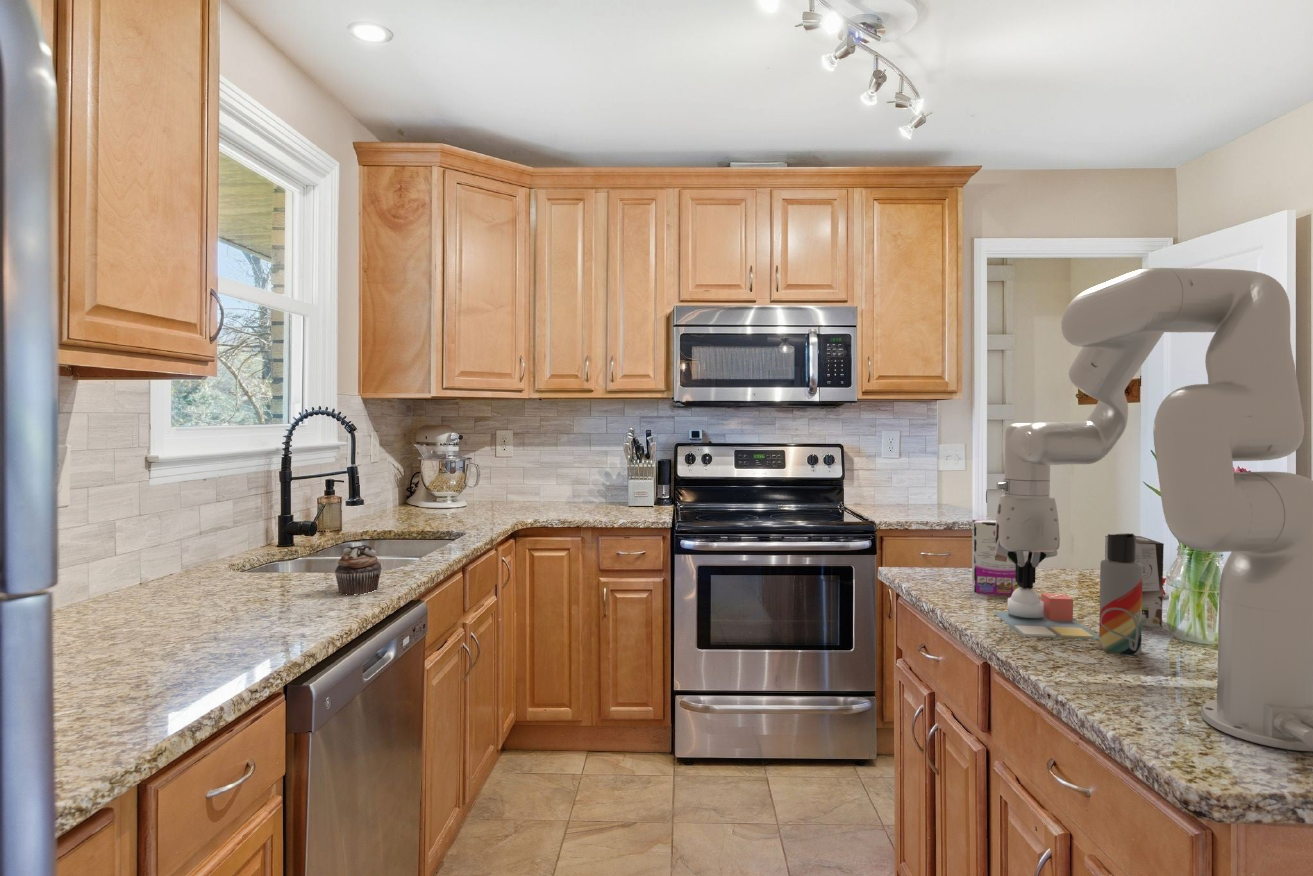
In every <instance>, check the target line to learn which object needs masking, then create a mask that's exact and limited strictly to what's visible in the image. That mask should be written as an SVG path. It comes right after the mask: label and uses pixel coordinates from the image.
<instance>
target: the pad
mask: <svg viewBox="0 0 1313 876" xmlns="http://www.w3.org/2000/svg"><path fill="white" fill-rule="evenodd" d="M1050 629H1052V630H1053V631H1055V632H1056V633H1057V634H1059V635H1060V636H1062V637H1078V638H1094V636H1093V635H1091V634H1089V633H1088V632H1086V631H1085V630H1083V629H1082V628H1072V627H1050Z"/></svg>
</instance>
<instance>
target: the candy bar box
mask: <svg viewBox="0 0 1313 876" xmlns="http://www.w3.org/2000/svg"><path fill="white" fill-rule="evenodd" d="M995 527H996V519H972V520H971V590H972V592H973V593H976V594H977V593H978V594H988V595H989V594H991V595H1007V596H1009V595H1010V596H1012V593H1013V592H1014V590H1016V589H1017V588H1019V587H1020V586H1019V585H1018V583H1017V582H1016V580H1015V569H1016V564H1014V563H1013V561H1012V560H1011V559H1010V558H1009V557H1006V556H1002V555H998V554H996V553H995V547H996V542H995ZM1023 553H1024V560H1025V564H1026V559H1027V553H1028V551H1023Z"/></svg>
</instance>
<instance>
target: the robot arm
mask: <svg viewBox="0 0 1313 876" xmlns="http://www.w3.org/2000/svg"><path fill="white" fill-rule="evenodd" d="M1061 318H1062V319H1061V323H1060V324H1061V333H1062V335H1063V338H1064V339H1065V340H1066V341H1067V342H1068V343H1069V344H1070V345H1073V346H1076V347H1078V348H1079V347H1081V349H1080V351H1079V352H1078V353H1077V355H1076V357H1075V358H1074V359H1073V362H1072V363H1071V365H1070V367H1069V369H1068V378H1069V380H1070V381H1071V383H1072V384H1073V386H1075V387H1076V388H1077V390H1079V391H1080V392H1082V393H1084V394H1085V395H1087V396H1089V397H1091V398H1092V399H1095V400H1097V403H1096V405H1095V407H1094V409H1093V410H1092V412H1091V414H1090V415H1089V416H1088V418H1087V419H1086V420H1084V421H1041V422H1039V421H1038V422H1013V423H1011V424H1008V425H1006V428H1005V432H1004V433H1005V434H1004V435H1005V437H1004V444H1005V445H1004V478H1003V481H1001V482H996V490H997V491H998V490H999V491H1000V490H1001V491H1003V494H1002V495H1000V497H999V502H998V505H997V506H998V507H997V511H996V518H995V520H996V527H995V542H996V547H995V553H996V554H998V555H1002V556H1006V557H1009V558H1010V559H1011V560H1012V561H1013V563H1014V564H1016V569H1015V580H1016V582H1017V583H1018V585H1019V586H1020V587H1022V588H1029V589H1033V590H1034V584H1035V583H1036V570H1037V569H1036V568H1037V567H1039V564H1040V563H1041V562H1042V561H1043V560H1044V559H1047V558H1052V557H1057V556H1058V550H1059V548H1060V542H1061V540H1060V539H1061V537H1060V536H1061V534H1060V522H1059V514H1058V507H1057V503H1056V498H1055V497H1052V496H1051V495H1050V494H1051V493H1050V492H1051V488H1050V487H1051V485H1050V484H1051V482H1050V481H1051V466H1052V465H1053V466H1061V465H1064V466H1065V465H1092V464H1095V463H1097V462H1099V461H1101V460H1103V458H1105V457H1106V456H1107V455H1108V454H1109V453H1110V452H1111V451H1112V450H1113V448H1114V446H1115V445H1116V444H1117V442H1118V441H1119V440H1120V439H1121V437H1122V435H1123V434H1124V432H1125V430H1126V428H1127V424H1128V419H1129V418H1128V417H1129V404H1128V400H1127V399H1128V398H1127V396H1126V394H1125V390H1126V389H1127V387H1128V386H1129V385H1130V383H1131V381H1132V380H1133V378H1134V377H1135V375H1137V372H1139V370H1140V369H1141V367H1142V365H1143V364H1144V363H1145V362H1146V360H1147V358H1148V357H1149V355H1150V354H1151V353H1152V351H1153V350H1154V348H1155V347H1156V345H1157V344H1158V342H1159V341H1160V340H1161V338H1162V337H1163V335H1164V334H1165V333H1214V335H1212V337H1211V340H1210V342H1209V343H1208V347H1207V350H1206V354H1205V358H1204V359H1205V360H1204V362H1205V364H1204V365H1205V369H1206V370H1205V371H1206V374H1207V375H1206V376H1207V383H1200V384H1199V383H1198V384H1197V383H1195V384H1190V385H1185V386H1181V387H1179V388H1177V389H1175V390H1173V391H1172V392H1170V393H1169V394H1168V395H1166V397H1165V398H1164V399H1163V400H1162V402H1161V403H1160V405H1158V408H1157V410H1156V415H1155V417H1154V421H1153V428H1152V429H1153V434H1152V435H1153V445H1154V452H1155V459H1156V461H1155V462H1156V468H1157V475H1158V477H1157V478H1158V483H1159V491H1160V499H1161V505H1162V506H1161V507H1162V511H1163V515H1164V519H1165V523H1166V525H1167V527H1168V529H1169V531H1170V532H1171V535H1173V537H1174V538H1175V539H1176V540H1177V541H1178V542H1180V544H1181V545H1183V546H1185V547H1187V548H1189V549H1192V550H1195V551H1198V552H1199V551H1200V552H1205V553H1206V552H1207V553H1208V552H1210V553H1212V552H1213V553H1214V552H1215V553H1222V552H1223V553H1225V552H1226V553H1227V552H1228V553H1229V552H1230V553H1229V555H1228V557H1227V560H1226V561H1225V563H1224V566H1223V568H1222V571H1221V575H1220V578H1219V579H1220V580H1219V590H1218V592H1219V595H1218V596H1219V598H1218V624H1217V625H1218V632H1217V639H1218V640H1217V681H1216V683H1217V686H1216V687H1217V688H1216V690H1217V691H1216V700H1211V701H1208V702H1206V703H1203V704H1202V706H1201V711H1200V714H1201V718H1202V719H1203V720H1204V722H1206V723H1207V724H1208V725H1210V726H1211V727H1213V728H1214V729H1216V730H1218V731H1220V732H1223V733H1225V734H1227V735H1230V736H1233V737H1235V738H1236V739H1237V738H1238V739H1241V740H1245V741H1248V742H1250V743H1255V744H1259V745H1262V746H1267V747H1272V748H1277V749H1282V750H1290V751H1297V752H1298V751H1300V752H1313V479H1310V478H1308V477H1307V476H1303V475H1301V474H1296V473H1292V472H1285V471H1238V472H1237V471H1236V472H1235V471H1234V464H1233V463H1234V462H1255V461H1256V462H1257V461H1258V462H1259V461H1272V460H1279V459H1281V458H1284V457H1288V456H1290V455H1291V454H1293V453H1294V452H1296V451H1297V450H1298V449H1299V447H1300V445H1302V442H1303V440H1304V436H1305V435H1304V434H1305V422H1304V415H1303V409H1302V401H1301V396H1300V390H1299V383H1298V377H1297V372H1296V371H1297V370H1296V364H1295V360H1294V356H1293V351H1292V343H1291V305H1290V299H1289V296H1288V293H1287V291H1286V289H1285V288H1284V286H1282V284H1281V283H1280V281H1278V280H1277V279H1275V278H1274V277H1272V276H1270V275H1268V274H1266V273H1262V272H1258V271H1253V270H1246V269H1231V268H1230V269H1229V268H1205V267H1203V268H1199V267H1198V268H1196V267H1195V268H1193V267H1191V268H1184V267H1183V268H1182V267H1179V268H1178V267H1149V268H1147V267H1146V268H1142V269H1137V270H1133V271H1130V272H1127V273H1125V274H1123V275H1120V276H1118V277H1115V278H1113V279H1110V280H1108V281H1106V282H1103V283H1100V284H1097V285H1094V286H1092V287H1090V288H1087V289H1086V290H1083V291H1082V292H1081V293H1079V294H1077V295H1076V296H1075V297H1073V299H1072V300H1071V301H1070V303H1069V304H1068V305H1067V306H1066V308H1065V309H1064V312H1063V315H1062V317H1061ZM1023 551H1028V553H1027V559H1026V564H1025V560H1024V553H1023Z"/></svg>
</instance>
